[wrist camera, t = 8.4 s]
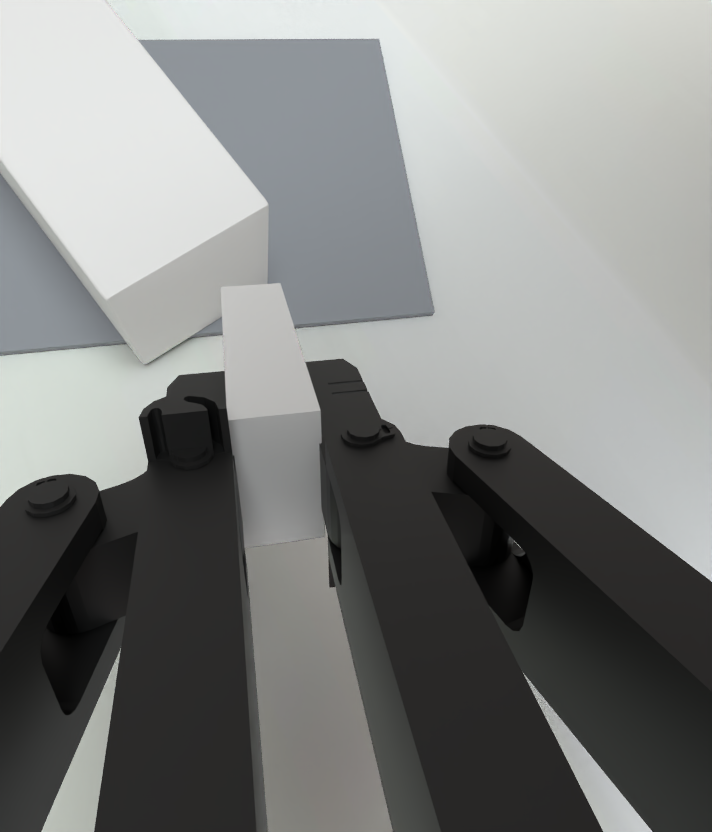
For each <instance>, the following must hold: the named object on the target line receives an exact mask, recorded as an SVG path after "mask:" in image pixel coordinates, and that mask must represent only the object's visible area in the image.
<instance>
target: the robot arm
mask: <svg viewBox="0 0 712 832" xmlns="http://www.w3.org/2000/svg"><path fill="white" fill-rule="evenodd" d="M221 306H222V327H223V347H224V368H225V371H221V372H210V373H199V374H187V375H179V376H178V377H177V378H176V379H175V380H174V381H173V382H172V383H171V384H170V385H169V386H168V388H167V395H166V397H164V398H161V399H159V400H156V401H154V402H153V403H151V404H150V405H148V406H147V407H146V408H144V409H143V411H142V413H141V414H140V416H139V421H140V425H141V430H142V435H143V439H144V444H145V449H146V453H147V458H148V467H147V471H146V472H145V473H144V474H142V475H140V476H139V477H137V478H135V479H133V480H131V481H129V482H126V483H123V484H121V485H118V486H115V487H112V488H108V489H105V490H102V491H99V489H98V487H97V485H96V482H94V481H93V480H91V479H89V478H88V477H86V476H81V475H74V474H65V475H54V476H50V477H46V478H42V479H39V480H36V481H34V482H32V483H30V484H28V485H26V486H24V487H22V488H20V489H19V490H17V491H16V492H15V493H14V494H13V495H12V496H10V497H9V498H8V499H7V500H6V501H5V502H4V503H3V505H2V506H1V507H0V832H41V830H42V828H43V826H44V823H45V821H46V819H47V816H48V814H49V812H50V810H51V807H52V805H53V803H54V800H55V798H56V796H57V793H58V791H59V789H60V786H61V784H62V782H63V780H64V777H65V775H66V773H67V770H68V768H69V766H70V763H71V761H72V759H73V757H74V754H75V752H76V750H77V747H78V745H79V743H80V740H81V738H82V736H83V733H84V731H85V729H86V727H87V724H88V722H89V720H90V717H91V715H92V713H93V710H94V708H95V706H96V704H97V701H98V699H99V697H100V694H101V692H102V690H103V687H104V685H105V683H106V680H107V678H108V676H109V674H110V671H111V669H112V667H113V664H114V662H115V660H116V657H117V655H118V653H119V651H120V648H121V652H120V659H119V666H118V673H117V680H116V687H115V694H114V700H113V707H112V714H111V721H110V728H109V735H108V742H107V748H106V755H105V762H104V769H103V776H102V783H101V789H100V796H99V803H98V810H97V817H96V824H95V831H94V832H268V829H267V816H266V804H265V791H264V778H263V765H262V752H261V740H260V727H259V714H258V701H257V688H256V676H255V663H254V650H253V637H252V624H251V612H250V599H249V586H248V573H247V564H246V556H245V548H251V547H258V546H265V545H272V544H279V543H286V542H293V541H300V540H307V539H314V538H321V537H325V525H326V529H327V533H328V556H329V587H335V586H336V591H337V595H338V599H339V603H340V608H341V612H342V616H343V620H344V625H345V629H346V633H347V637H348V642H349V646H350V650H351V654H352V659H353V663H354V667H355V671H356V676H357V680H358V684H359V688H360V693H361V697H362V701H363V705H364V710H365V714H366V718H367V722H368V727H369V731H370V735H371V740H372V744H373V748H374V752H375V757H376V761H377V765H378V769H379V774H380V778H381V782H382V786H383V791H384V795H385V799H386V803H387V808H388V812H389V816H390V820H391V825H392V829H393V832H603V830H602V828H601V826H600V825H599V823H598V821H597V819H596V817H595V815H594V813H593V811H592V809H591V807H590V805H589V803H588V801H587V799H586V797H585V795H584V793H583V791H582V789H581V787H580V785H579V783H578V781H577V779H576V777H575V775H574V773H573V771H572V769H571V767H570V765H569V763H568V761H567V759H566V757H565V755H564V753H563V751H562V749H561V747H560V746H559V744H558V742H557V740H556V738H555V736H554V734H553V732H552V730H551V728H550V726H549V724H548V722H547V720H546V718H545V716H544V714H543V712H542V710H541V708H540V706H539V704H538V702H537V700H536V698H535V696H534V694H533V692H532V690H531V688H530V686H529V684H528V682H527V680H526V678H525V676H524V674H525V675H526V676H527V678H528V679H529V680H530V681H531V683H532V684H533V685H534V686H535V687H536V689H537V690H538V691H539V692H540V694H541V695H542V696H543V697H544V699H545V700H546V701H547V702H548V703H549V705H550V706H551V707H552V708H553V710H554V711H555V712H556V713H557V715H558V716H559V717H560V718H561V719H562V721H563V722H564V723H565V724H566V726H567V727H568V728H569V729H570V731H571V732H572V733H573V734H574V735H575V737H576V738H577V739H578V740H579V742H580V743H581V744H582V745H583V747H584V748H585V749H586V750H587V751H588V753H589V754H590V755H591V756H592V758H593V759H594V760H595V761H596V763H597V764H598V765H599V766H600V767H601V769H602V770H603V771H604V772H605V774H606V775H607V776H608V777H609V779H610V780H611V781H612V782H613V783H614V785H615V786H616V787H617V788H618V790H619V791H620V792H621V793H622V795H623V796H624V797H625V798H626V799H627V801H628V802H629V803H630V804H631V806H632V807H633V808H634V809H635V811H636V812H637V813H638V814H639V815H640V817H641V818H642V819H643V820H644V822H645V823H646V824H647V825H648V827H649V828H650V829H651V830H652V831H653V832H712V582H711V581H710V580H709V579H707V578H706V577H705V576H703V575H702V574H701V573H699V572H698V571H697V570H695V569H694V568H693V567H692V566H690V565H689V564H688V563H686V562H685V561H684V560H682V559H681V558H680V557H678V556H677V555H676V554H675V553H673V552H672V551H671V550H669V549H668V548H667V547H665V546H664V545H663V544H661V543H660V542H659V541H657V540H656V539H655V538H654V537H652V536H651V535H650V534H648V533H647V532H646V531H644V530H643V529H642V528H640V527H639V526H638V525H636V524H635V523H634V522H633V521H631V520H630V519H629V518H627V517H626V516H625V515H623V514H622V513H621V512H619V511H618V510H617V509H615V508H614V507H613V506H612V505H610V504H609V503H608V502H606V501H605V500H604V499H602V498H601V497H600V496H598V495H597V494H596V493H594V492H593V491H592V490H591V489H589V488H588V487H587V486H585V485H584V484H583V483H581V482H580V481H579V480H577V479H576V478H575V477H573V476H572V475H571V474H570V473H568V472H567V471H566V470H564V469H563V468H562V467H560V466H559V465H558V464H556V463H555V462H554V461H552V460H551V459H550V458H549V457H547V456H546V455H545V454H543V453H542V452H541V451H539V450H538V449H537V448H535V447H534V446H533V445H532V444H530V443H529V442H528V441H526V440H525V439H524V438H522V437H521V436H519V435H517V434H516V433H514V432H512V431H510V430H508V429H504V428H501V427H497V426H494V425H474V426H467V427H464V428H462V429H459V430H457V431H455V432H454V434H453V435H452V436H451V437H450V439H449V448H441V447H429V446H421V445H415V444H411V443H408V442H406V441H405V439H404V437H403V435H402V434H401V432H400V431H399V430H398V429H397V428H396V426H395V425H393V424H391V423H389V422H387V421H385V420H382V419H381V418H380V415H379V413H378V411H377V409H376V407H375V405H374V403H373V401H372V399H371V397H370V394H369V392H367V388H366V386H365V384H364V382H363V380H362V378H361V376H360V373H359V371H358V369H357V368H356V367H354V366H353V365H351V364H350V363H348V362H347V361H345V360H344V359H336V360H324V361H313V362H305V359H304V356H303V353H302V350H301V347H300V344H299V340H298V337H297V334H296V331H295V328H294V325H293V321H292V318H291V315H290V312H289V309H288V306H287V302H286V299H285V296H284V293H283V290H282V287H281V283H273V284H258V285H242V286H227V287H221ZM324 521H325V525H324ZM514 541H515V542H516V543H517V544H518V545H519V546H520V547H521V548H522V549H521V548H520V547H519V546H518V545H517V544H516V543H515V542H514ZM522 671H523V672H522ZM523 673H524V674H523Z"/></svg>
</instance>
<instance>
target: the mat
mask: <svg viewBox="0 0 712 832" xmlns="http://www.w3.org/2000/svg"><path fill="white" fill-rule="evenodd" d="M138 41H139V42H140V43H141V45H142V46H143V47H144V48H145V50H146V51H147V52H148V53H149V55H150V56H151V57H152V58H153V60H154V61H155V62H156V63H157V65H158V66H159V67H160V68H161V70H162V71H163V72H164V73H165V74H166V76H167V77H168V78H169V79H170V81H171V82H172V83H173V84H174V86H175V87H176V88H177V89H178V91H179V92H180V93H181V94H182V96H183V97H184V98H185V99H186V101H187V102H188V103H189V104H190V106H191V107H192V108H193V109H194V111H195V112H196V113H197V114H198V116H199V117H200V118H201V119H202V121H203V122H204V123H205V124H206V126H207V127H208V128H209V129H210V131H211V132H212V133H213V134H214V136H215V137H216V138H217V139H218V141H219V142H220V143H221V144H222V146H223V147H224V148H225V149H226V151H227V152H228V153H229V154H230V156H231V157H232V158H233V159H234V161H235V162H236V163H237V164H238V166H239V167H240V168H241V169H242V171H243V172H244V173H245V174H246V175H247V177H248V178H249V179H250V180H251V182H252V183H253V184H254V185H255V187H256V188H257V189H258V190H259V192H260V193H261V194H262V195H263V197H264V198H265V199H266V201H267V202H268V206H269V214H268V282H267V284H273V283H281V287H282V290H283V293H284V296H285V299H286V302H287V306H288V309H289V312H290V315H291V318H292V321H293V325H294V328H299V327H310V326H321V325H331V324H342V323H353V322H364V321H374V320H385V319H396V318H407V317H417V316H428V315H433V313H434V307H433V302H432V297H431V293H430V288H429V283H428V278H427V273H426V268H425V263H424V258H423V253H422V248H421V243H420V238H419V233H418V229H417V224H416V219H415V214H414V209H413V204H412V199H411V194H410V189H409V184H408V179H407V174H406V170H405V165H404V160H403V155H402V150H401V145H400V140H399V135H398V130H397V125H396V120H395V115H394V110H393V106H392V101H391V96H390V91H389V86H388V81H387V76H386V71H385V66H384V61H383V56H382V51H381V47H380V42H379V39H244V40H138ZM213 335H223V327H222V317H221V318H219V319H217V320H216V321H214V322H213V323H211V324H210V325H208V326H206V327H205V328H203V329H202V330H200V331H198V332H197V333H195V334H194V335H192V336H191V337H202V336H213ZM191 337H189V338H191ZM116 344H127V343H126V341H125V340H124V339H123V337H122V336H121V335H120V333H119V332H118V331H117V329H116V328H115V327H114V325H113V324H112V323H111V321H110V320H109V319H108V317H107V316H106V315H105V313H104V312H103V311H102V309H101V308H100V307H99V305H98V304H97V302H96V301H95V300H94V298H93V297H92V296H91V294H90V293H89V292H88V290H87V289H86V288H85V286H84V285H83V284H82V282H81V281H80V280H79V278H78V277H77V276H76V274H75V273H74V272H73V270H72V269H71V268H70V266H69V265H68V264H67V262H66V261H65V259H64V258H63V257H62V255H61V254H60V253H59V251H58V250H57V249H56V247H55V246H54V245H53V243H52V242H51V241H50V239H49V238H48V237H47V235H46V234H45V233H44V231H43V230H42V229H41V227H40V226H39V225H38V223H37V222H36V221H35V219H34V218H33V216H32V215H31V214H30V212H29V211H28V210H27V208H26V207H25V206H24V204H23V203H22V202H21V200H20V199H19V198H18V196H17V195H16V194H15V192H14V191H13V190H12V188H11V187H10V186H9V184H8V183H7V182H6V180H5V179H4V178H3V176H2V175H1V173H0V355H8V354H19V353H30V352H41V351H52V350H62V349H73V348H84V347H95V346H105V345H116Z"/></svg>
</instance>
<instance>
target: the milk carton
mask: <svg viewBox="0 0 712 832" xmlns="http://www.w3.org/2000/svg"><path fill="white" fill-rule="evenodd" d="M0 173H1V175H2V176H3V178H4V179H5V180H6V182H7V183H8V184H9V186H10V187H11V188H12V190H13V191H14V192H15V194H16V195H17V196H18V198H19V199H20V200H21V202H22V203H23V204H24V206H25V207H26V208H27V210H28V211H29V212H30V214H31V215H32V216H33V218H34V219H35V221H36V222H37V223H38V225H39V226H40V227H41V229H42V230H43V231H44V233H45V234H46V235H47V237H48V238H49V239H50V241H51V242H52V243H53V245H54V246H55V247H56V249H57V250H58V251H59V253H60V254H61V255H62V257H63V258H64V259H65V261H66V262H67V264H68V265H69V266H70V268H71V269H72V270H73V272H74V273H75V274H76V276H77V277H78V278H79V280H80V281H81V282H82V284H83V285H84V286H85V288H86V289H87V290H88V292H89V293H90V294H91V296H92V297H93V298H94V300H95V301H96V302H97V304H98V305H99V307H100V308H101V309H102V311H103V312H104V313H105V315H106V316H107V317H108V319H109V320H110V321H111V323H112V324H113V325H114V327H115V328H116V329H117V331H118V332H119V333H120V335H121V336H122V337H123V339H124V340H125V341H126V343H127V344H128V345H129V347H130V348H131V350H132V351H133V352H134V354H135V355H136V356H137V358H138V359H139V360H140V361H141V362H142V363H143V364H147V363H149V362H151V361H152V360H154V359H156V358H157V357H159V356H160V355H162V354H164V353H165V352H167V351H168V350H170V349H172V348H173V347H175V346H176V345H178V344H179V343H181V342H183V341H184V340H186V339H187V338H189V337H191V336H192V335H194V334H195V333H197V332H198V331H200V330H202V329H203V328H205V327H206V326H208V325H210V324H211V323H213V322H214V321H216V320H217V319H219V318H221V317H222V306H221V287H227V286H242V285H258V284H267V282H268V214H269V206H268V202H267V201H266V199H265V198H264V197H263V195H262V194H261V193H260V192H259V190H258V189H257V188H256V187H255V185H254V184H253V183H252V182H251V180H250V179H249V178H248V177H247V175H246V174H245V173H244V172H243V171H242V169H241V168H240V167H239V166H238V164H237V163H236V162H235V161H234V159H233V158H232V157H231V156H230V154H229V153H228V152H227V151H226V149H225V148H224V147H223V146H222V144H221V143H220V142H219V141H218V139H217V138H216V137H215V136H214V134H213V133H212V132H211V131H210V129H209V128H208V127H207V126H206V124H205V123H204V122H203V121H202V119H201V118H200V117H199V116H198V114H197V113H196V112H195V111H194V109H193V108H192V107H191V106H190V104H189V103H188V102H187V101H186V99H185V98H184V97H183V96H182V94H181V93H180V92H179V91H178V89H177V88H176V87H175V86H174V84H173V83H172V82H171V81H170V79H169V78H168V77H167V76H166V74H165V73H164V72H163V71H162V70H161V68H160V67H159V66H158V65H157V63H156V62H155V61H154V60H153V58H152V57H151V56H150V55H149V53H148V52H147V51H146V50H145V48H144V47H143V46H142V45H141V43H140V42H139V41H138V40H137V38H136V37H135V36H134V35H133V33H132V32H131V31H130V30H129V28H128V27H127V26H126V25H125V23H124V22H123V21H122V20H121V18H120V17H119V16H118V15H117V13H116V12H115V11H114V10H113V8H112V7H111V6H110V5H109V3H108V2H107V1H106V0H0Z"/></svg>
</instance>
